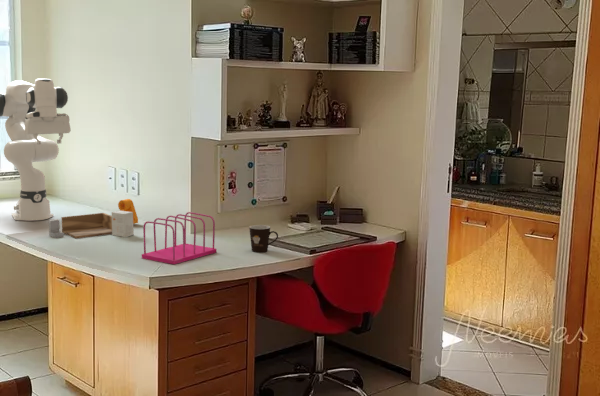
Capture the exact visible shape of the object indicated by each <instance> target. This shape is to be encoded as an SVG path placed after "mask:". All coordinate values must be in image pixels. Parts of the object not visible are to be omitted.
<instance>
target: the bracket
mask: <svg viewBox="0 0 600 396" xmlns="http://www.w3.org/2000/svg"><path fill="white" fill-rule="evenodd" d="M60 227H61V223H60V219H59V218H56V219H48V232H49V233H48V234H49V235H48V236H49V237H51V238H54V239H55V238H56V239H58V238H63V237H64V233H63V232H62V230H61V229H60Z"/></svg>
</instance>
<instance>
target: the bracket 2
mask: <svg viewBox="0 0 600 396" xmlns="http://www.w3.org/2000/svg"><path fill="white" fill-rule="evenodd" d="M117 206H118V210H119V211H128V212H133V225H135V224H139V218H138V215H137V211H136V208H135V205H134V202H133V200H132V199H131V198H127V199H121V200H119V201H118V203H117Z"/></svg>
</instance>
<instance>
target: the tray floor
mask: <svg viewBox="0 0 600 396" xmlns="http://www.w3.org/2000/svg"><path fill="white" fill-rule="evenodd" d="M61 232H63V234H65V235H66V236H69V237H71V238H73V239H76V240H77V239H83V238H91V237H93V238H94V237H99V236H107V235H112V230H111V229H109V228H106V227H104V226H99V227H90V228H81V229H72V230H64V231H63V230H62V229H61Z"/></svg>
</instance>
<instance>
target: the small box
mask: <svg viewBox="0 0 600 396" xmlns="http://www.w3.org/2000/svg"><path fill="white" fill-rule="evenodd" d="M111 216H112V234H111V235H112V236H117V237H121V238H122V237H123V238H125V237H130V236H133V235H134V234H135V233H134V231H135V230H134V224H133V212H128V211H120V210H116V211H112V212H111Z"/></svg>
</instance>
